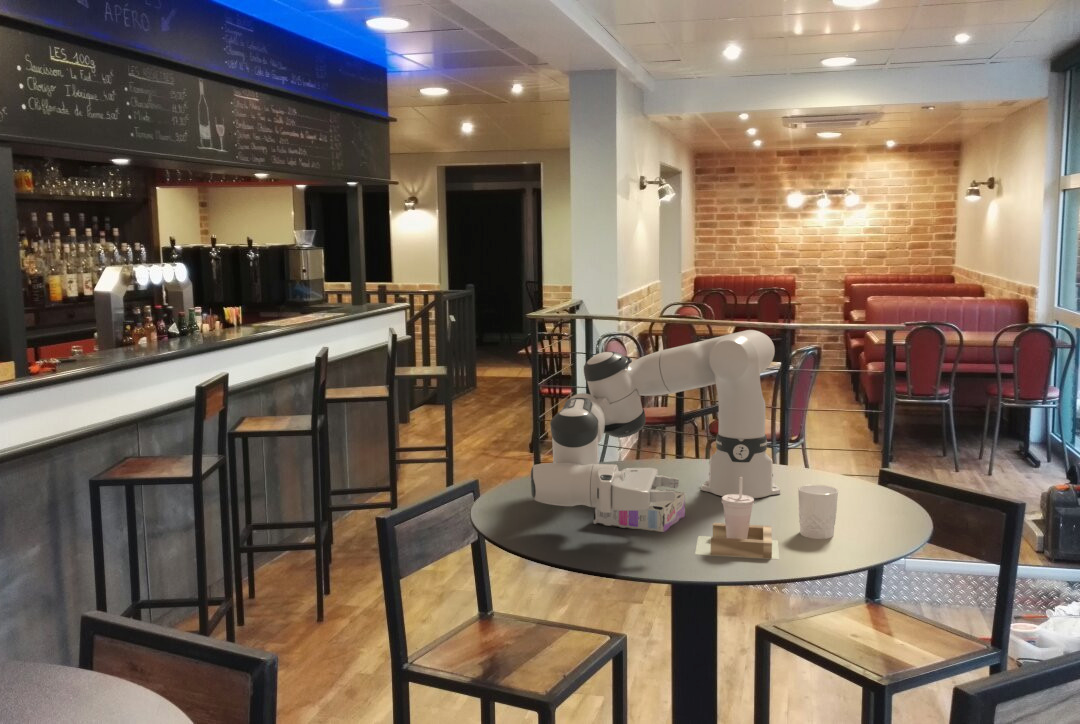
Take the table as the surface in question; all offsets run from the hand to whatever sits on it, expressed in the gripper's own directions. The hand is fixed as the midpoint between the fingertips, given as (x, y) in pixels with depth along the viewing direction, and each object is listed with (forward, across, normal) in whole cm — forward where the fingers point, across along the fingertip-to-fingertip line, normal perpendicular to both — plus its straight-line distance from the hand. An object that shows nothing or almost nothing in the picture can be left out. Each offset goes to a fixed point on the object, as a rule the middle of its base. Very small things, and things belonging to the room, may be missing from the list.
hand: (676, 489), depth 200 cm
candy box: (-17, -19, -9) cm, 27 cm away
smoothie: (+12, -2, -12) cm, 17 cm away
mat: (+12, 0, -12) cm, 17 cm away
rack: (+12, 0, -11) cm, 17 cm away
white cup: (+28, -12, -12) cm, 33 cm away
